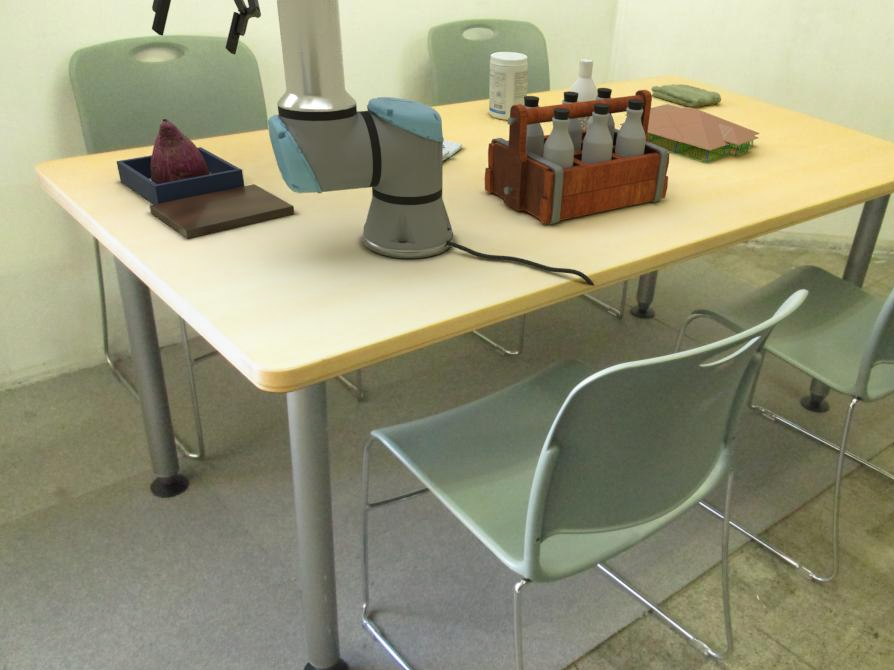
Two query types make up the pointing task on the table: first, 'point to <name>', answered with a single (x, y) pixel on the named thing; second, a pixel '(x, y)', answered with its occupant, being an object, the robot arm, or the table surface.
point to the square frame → (139, 171)
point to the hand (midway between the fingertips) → (193, 42)
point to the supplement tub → (507, 82)
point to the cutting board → (221, 210)
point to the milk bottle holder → (577, 157)
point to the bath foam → (585, 86)
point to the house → (697, 130)
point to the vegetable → (175, 156)
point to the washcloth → (686, 95)
